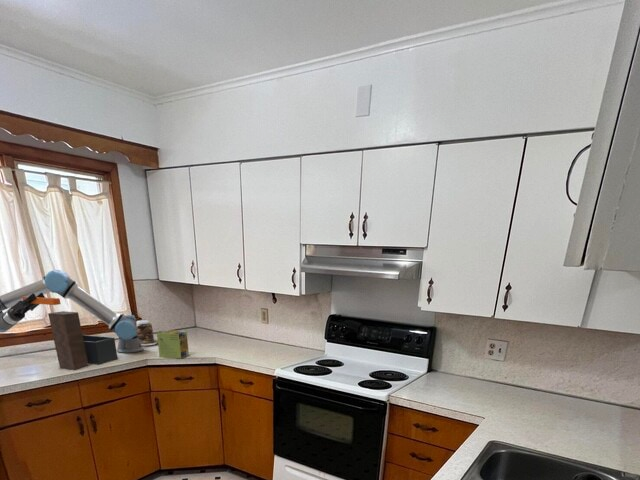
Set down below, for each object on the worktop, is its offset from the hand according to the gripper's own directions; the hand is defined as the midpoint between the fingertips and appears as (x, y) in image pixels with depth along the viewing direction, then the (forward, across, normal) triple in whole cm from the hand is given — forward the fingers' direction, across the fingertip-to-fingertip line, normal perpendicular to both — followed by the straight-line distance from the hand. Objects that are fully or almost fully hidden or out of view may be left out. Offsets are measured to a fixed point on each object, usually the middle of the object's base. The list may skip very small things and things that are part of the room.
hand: (38, 295), depth 230 cm
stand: (-7, 0, -40) cm, 41 cm away
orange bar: (-1, 0, -4) cm, 4 cm away
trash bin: (-10, -18, -38) cm, 43 cm away
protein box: (+24, -45, -58) cm, 77 cm away
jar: (-15, -76, -36) cm, 85 cm away
